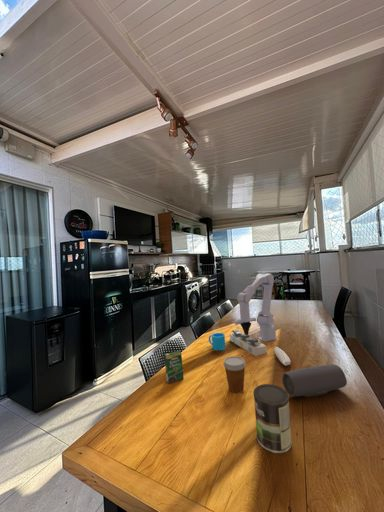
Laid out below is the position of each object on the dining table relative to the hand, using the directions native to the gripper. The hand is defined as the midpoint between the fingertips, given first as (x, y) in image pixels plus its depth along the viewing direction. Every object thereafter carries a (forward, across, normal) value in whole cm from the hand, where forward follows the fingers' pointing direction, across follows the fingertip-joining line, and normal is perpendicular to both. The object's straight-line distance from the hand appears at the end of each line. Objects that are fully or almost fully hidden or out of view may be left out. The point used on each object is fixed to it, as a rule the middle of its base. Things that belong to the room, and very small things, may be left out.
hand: (246, 334), depth 138 cm
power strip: (+8, -1, -5) cm, 10 cm away
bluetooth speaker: (+9, +3, +50) cm, 51 cm away
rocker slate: (+2, 0, +7) cm, 7 cm away
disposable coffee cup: (+9, +29, +33) cm, 45 cm away
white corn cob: (+9, -7, +22) cm, 24 cm away
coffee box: (+9, +51, +14) cm, 53 cm away
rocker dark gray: (+2, 0, -2) cm, 3 cm away
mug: (+9, +16, -11) cm, 21 cm away
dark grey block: (+2, 0, -11) cm, 11 cm away
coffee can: (+9, +33, +61) cm, 70 cm away
